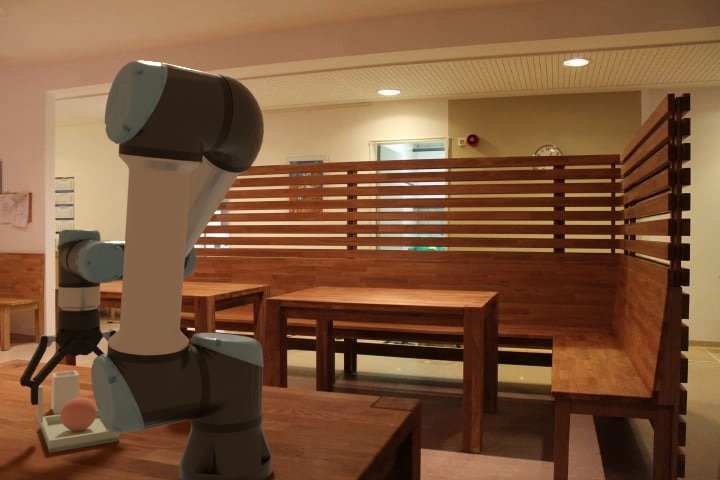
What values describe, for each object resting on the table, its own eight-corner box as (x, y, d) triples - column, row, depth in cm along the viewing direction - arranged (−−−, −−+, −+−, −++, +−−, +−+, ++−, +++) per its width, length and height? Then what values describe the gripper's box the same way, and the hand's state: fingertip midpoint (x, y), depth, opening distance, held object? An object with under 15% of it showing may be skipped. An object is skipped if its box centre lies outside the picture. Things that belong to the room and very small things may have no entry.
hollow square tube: (79, 410, 135) (79, 374, 135) (54, 414, 133) (54, 377, 133) (75, 405, 140) (75, 370, 140) (51, 408, 137) (51, 372, 137)
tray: (119, 441, 117) (119, 429, 117) (49, 452, 110) (49, 440, 110) (103, 418, 130) (103, 408, 130) (40, 427, 124) (40, 417, 124)
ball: (99, 432, 119) (99, 399, 119) (62, 437, 116) (63, 404, 116) (93, 423, 125) (93, 392, 125) (58, 428, 121) (58, 396, 121)
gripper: (140, 302, 130) (139, 401, 130) (4, 309, 116) (4, 420, 117) (149, 306, 123) (148, 410, 124) (7, 314, 110) (6, 431, 110)
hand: (78, 415), depth 120 cm, fingers open, 13 cm apart
